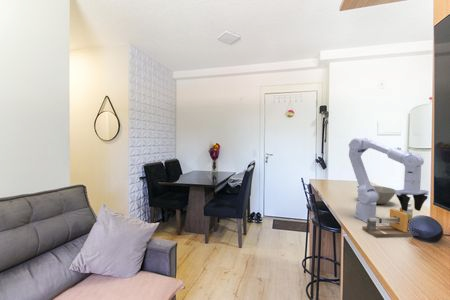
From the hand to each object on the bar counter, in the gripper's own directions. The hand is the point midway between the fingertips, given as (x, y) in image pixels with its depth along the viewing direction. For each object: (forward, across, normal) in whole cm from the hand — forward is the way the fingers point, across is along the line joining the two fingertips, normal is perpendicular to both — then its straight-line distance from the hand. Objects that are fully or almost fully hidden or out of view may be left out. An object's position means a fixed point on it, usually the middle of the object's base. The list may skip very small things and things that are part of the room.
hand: (410, 210), depth 103 cm
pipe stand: (+10, -10, 0) cm, 14 cm away
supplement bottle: (+11, +12, +15) cm, 22 cm away
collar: (+8, -6, 0) cm, 10 cm away
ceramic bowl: (+11, +21, +48) cm, 53 cm away
